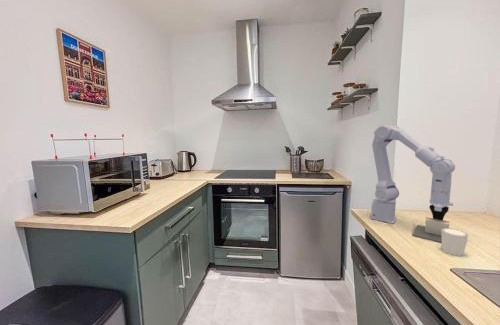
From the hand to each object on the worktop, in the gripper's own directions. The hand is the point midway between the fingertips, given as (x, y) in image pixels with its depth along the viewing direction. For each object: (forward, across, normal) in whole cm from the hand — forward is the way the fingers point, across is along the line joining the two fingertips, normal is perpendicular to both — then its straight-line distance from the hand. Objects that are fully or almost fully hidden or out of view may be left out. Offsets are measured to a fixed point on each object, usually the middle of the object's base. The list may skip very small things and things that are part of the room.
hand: (437, 224), depth 89 cm
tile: (+3, 0, 0) cm, 4 cm away
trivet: (+4, -1, 0) cm, 5 cm away
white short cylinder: (+5, -13, -5) cm, 14 cm away
